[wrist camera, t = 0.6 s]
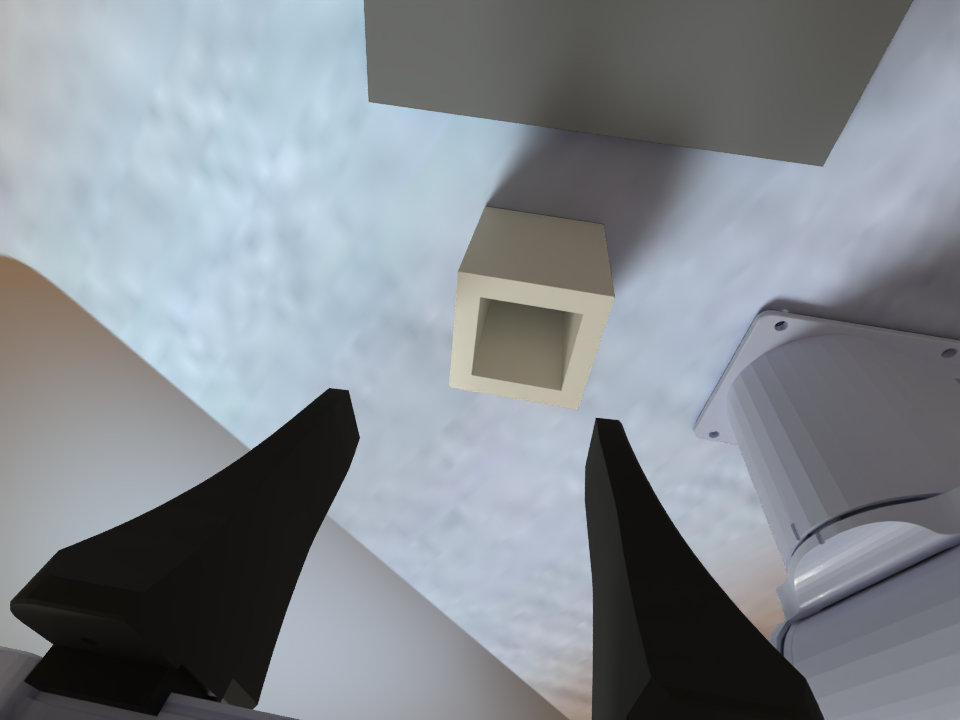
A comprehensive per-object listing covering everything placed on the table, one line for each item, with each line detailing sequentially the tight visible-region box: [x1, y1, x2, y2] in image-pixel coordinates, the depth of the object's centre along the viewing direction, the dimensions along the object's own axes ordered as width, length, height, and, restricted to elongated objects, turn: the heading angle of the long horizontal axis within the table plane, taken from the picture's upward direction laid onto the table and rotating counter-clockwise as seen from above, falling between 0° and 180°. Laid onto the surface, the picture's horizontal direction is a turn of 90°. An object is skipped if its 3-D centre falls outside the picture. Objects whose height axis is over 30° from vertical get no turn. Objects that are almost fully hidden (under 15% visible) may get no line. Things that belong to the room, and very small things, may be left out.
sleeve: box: [449, 206, 615, 410], centre depth 18 cm, size 5×5×6 cm
